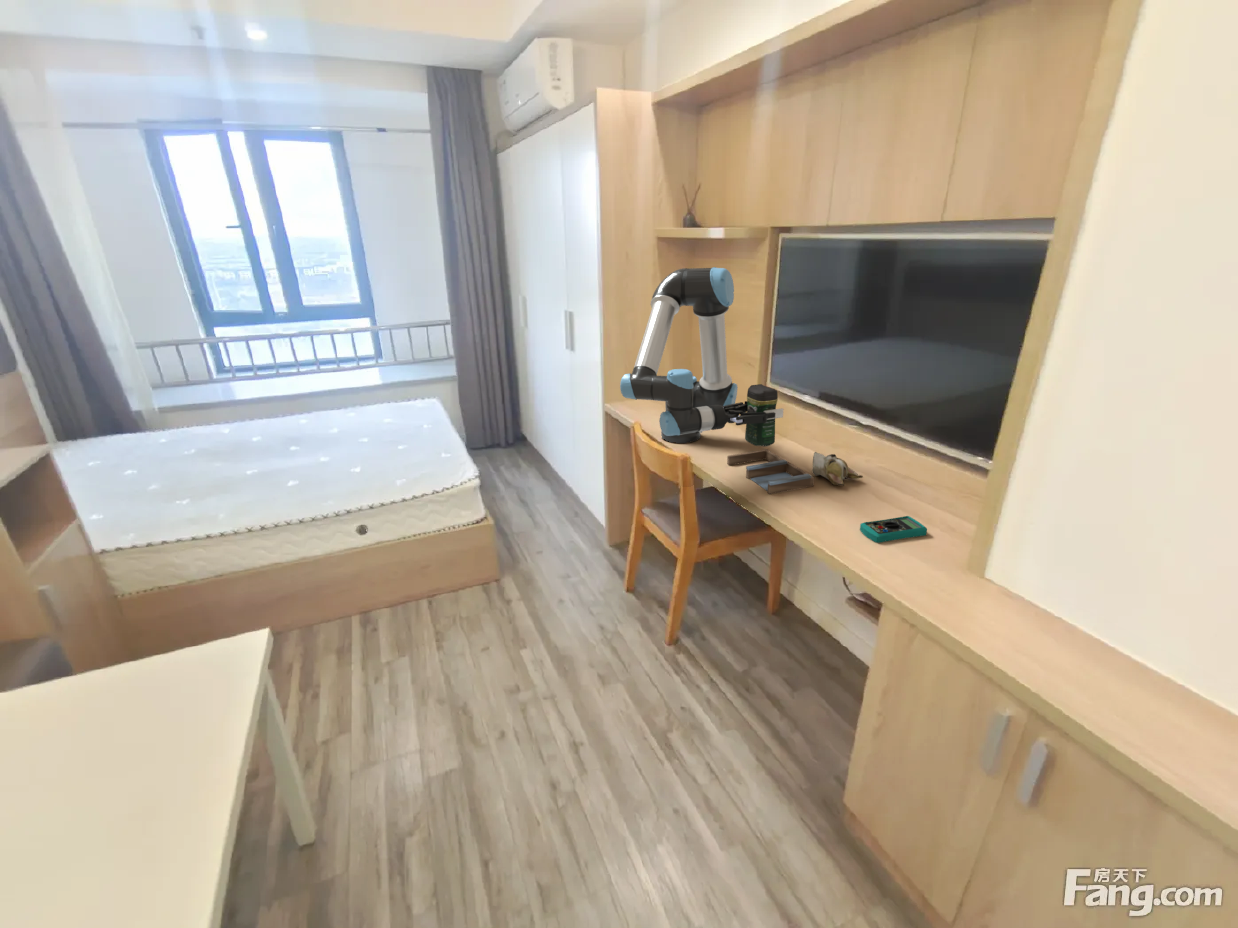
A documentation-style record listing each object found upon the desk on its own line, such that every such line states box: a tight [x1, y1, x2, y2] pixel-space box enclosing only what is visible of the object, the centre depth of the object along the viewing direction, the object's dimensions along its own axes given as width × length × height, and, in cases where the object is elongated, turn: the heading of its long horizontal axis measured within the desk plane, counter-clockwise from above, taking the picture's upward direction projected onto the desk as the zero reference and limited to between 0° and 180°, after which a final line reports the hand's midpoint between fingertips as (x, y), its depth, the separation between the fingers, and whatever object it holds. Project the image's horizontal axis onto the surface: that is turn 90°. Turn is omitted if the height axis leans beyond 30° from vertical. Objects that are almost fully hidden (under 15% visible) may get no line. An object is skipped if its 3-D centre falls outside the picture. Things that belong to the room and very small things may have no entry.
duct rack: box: [726, 449, 815, 495], centre depth 178 cm, size 26×15×4 cm, turn 18°
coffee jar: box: [744, 383, 778, 447], centre depth 175 cm, size 10×8×19 cm
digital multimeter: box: [859, 515, 928, 544], centre depth 141 cm, size 7×15×3 cm, turn 102°
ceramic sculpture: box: [811, 451, 864, 487], centre depth 172 cm, size 11×9×15 cm
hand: (774, 409), depth 176 cm, fingers closed on coffee jar, 8 cm apart
